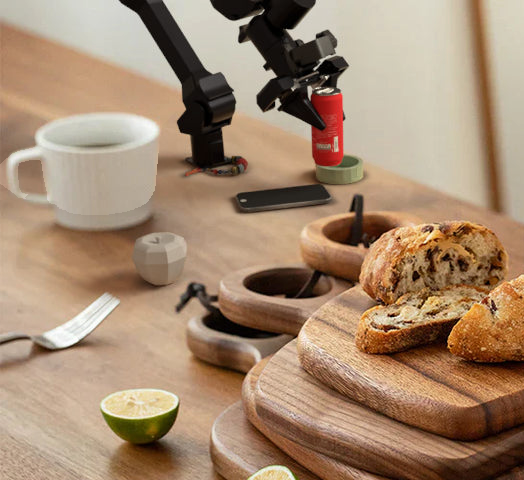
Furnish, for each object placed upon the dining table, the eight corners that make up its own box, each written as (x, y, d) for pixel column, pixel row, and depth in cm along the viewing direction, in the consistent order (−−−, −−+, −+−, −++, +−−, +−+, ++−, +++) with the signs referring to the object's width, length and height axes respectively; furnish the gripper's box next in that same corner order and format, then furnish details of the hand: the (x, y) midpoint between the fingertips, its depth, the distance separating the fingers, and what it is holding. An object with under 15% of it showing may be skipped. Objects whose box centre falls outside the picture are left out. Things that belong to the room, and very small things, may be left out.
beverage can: (306, 164, 178) (303, 92, 172) (323, 155, 181) (321, 84, 176) (332, 169, 175) (331, 97, 169) (349, 160, 179) (348, 89, 173)
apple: (175, 296, 145) (170, 251, 142) (123, 288, 148) (117, 244, 145) (201, 272, 152) (197, 229, 149) (151, 265, 154) (146, 222, 151)
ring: (306, 175, 187) (306, 160, 186) (344, 165, 192) (344, 151, 190) (334, 187, 181) (333, 173, 180) (372, 177, 186) (372, 162, 184)
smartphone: (234, 192, 178) (322, 182, 181) (234, 197, 178) (322, 187, 181) (241, 209, 171) (333, 198, 174) (241, 213, 172) (333, 202, 175)
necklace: (249, 175, 187) (247, 164, 186) (185, 184, 187) (183, 173, 186) (247, 161, 194) (245, 151, 194) (186, 170, 194) (184, 160, 193)
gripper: (267, 27, 162) (327, 110, 162) (338, 5, 176) (395, 82, 176) (230, 71, 170) (288, 151, 170) (301, 47, 184) (355, 121, 183)
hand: (333, 125), depth 174 cm, fingers closed on beverage can, 5 cm apart
